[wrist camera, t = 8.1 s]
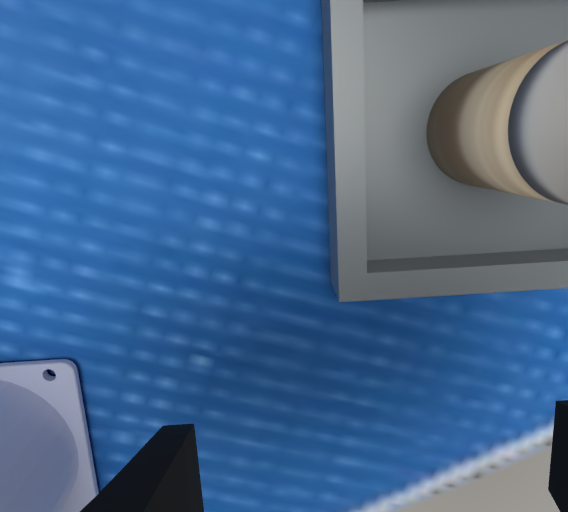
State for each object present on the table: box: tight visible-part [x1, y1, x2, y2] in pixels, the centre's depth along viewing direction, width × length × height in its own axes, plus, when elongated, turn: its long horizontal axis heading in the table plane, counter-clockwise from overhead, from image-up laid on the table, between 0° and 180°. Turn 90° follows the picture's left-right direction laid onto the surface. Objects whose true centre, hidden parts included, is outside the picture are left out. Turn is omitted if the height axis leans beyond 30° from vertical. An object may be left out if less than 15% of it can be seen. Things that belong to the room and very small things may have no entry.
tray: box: [321, 0, 568, 302], centre depth 17 cm, size 11×11×2 cm
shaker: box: [427, 40, 568, 205], centre depth 14 cm, size 4×4×7 cm
